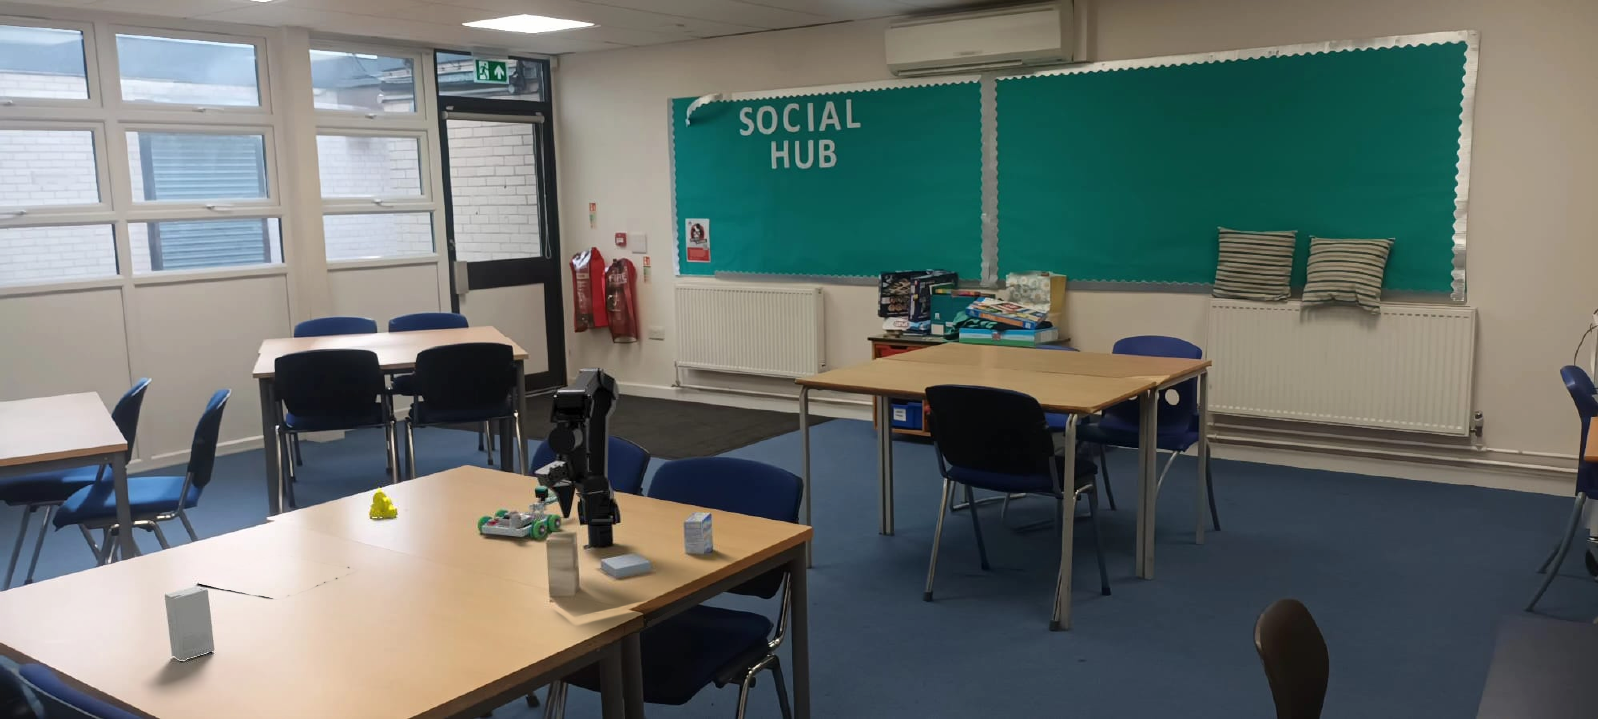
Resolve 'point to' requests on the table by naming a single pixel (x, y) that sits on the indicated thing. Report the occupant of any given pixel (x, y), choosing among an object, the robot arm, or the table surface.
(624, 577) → the tower bottom slab
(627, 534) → the table surface
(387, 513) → the yellow lumpy cone
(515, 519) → the robot kit
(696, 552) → the medicine box
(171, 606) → the skincare box
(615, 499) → the robot arm
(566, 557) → the tall beech block
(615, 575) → the tower top slab
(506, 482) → the table surface
